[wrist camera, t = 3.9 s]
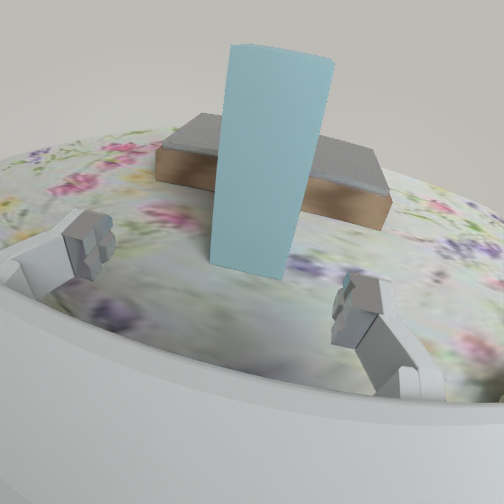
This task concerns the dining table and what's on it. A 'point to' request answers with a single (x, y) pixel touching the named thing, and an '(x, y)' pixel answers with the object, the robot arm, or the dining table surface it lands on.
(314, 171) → the plinth
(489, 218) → the dining table surface
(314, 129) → the teal block
